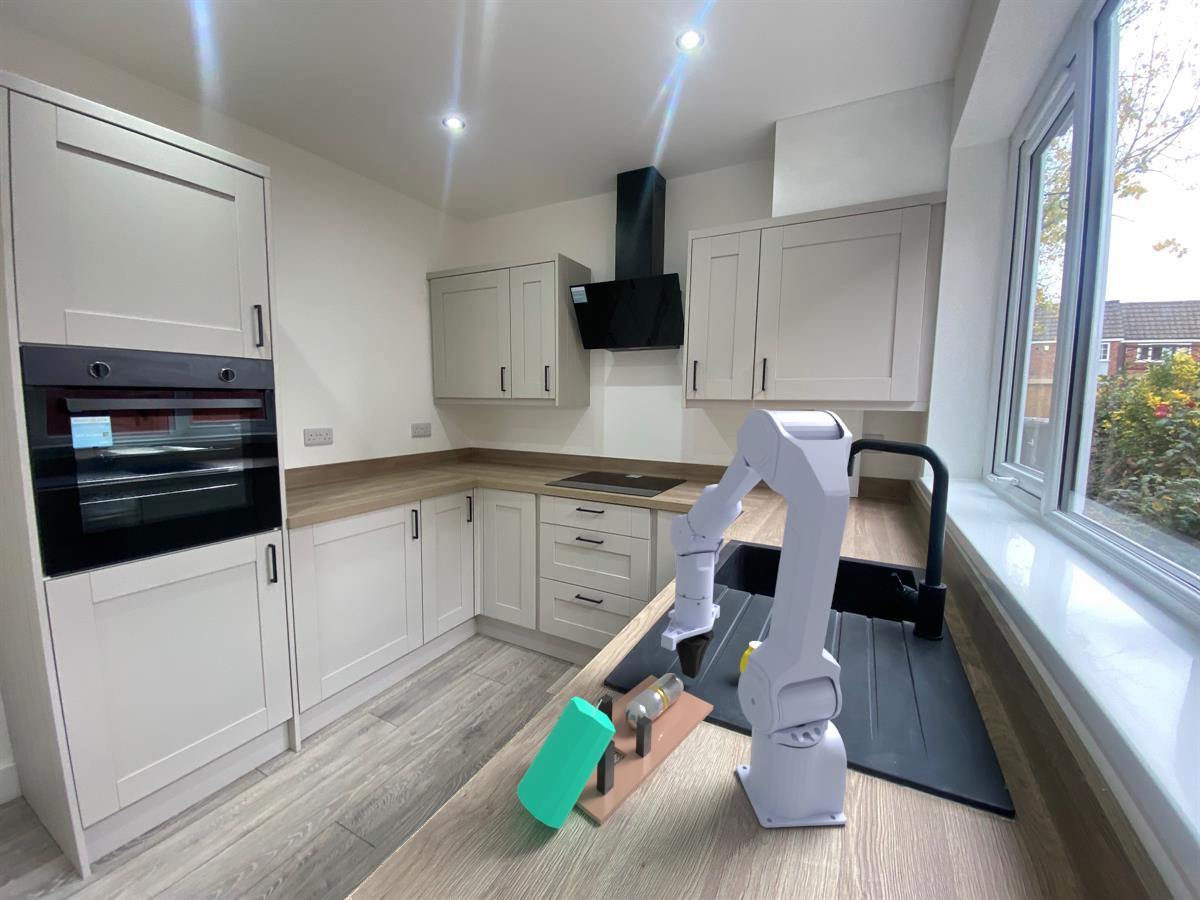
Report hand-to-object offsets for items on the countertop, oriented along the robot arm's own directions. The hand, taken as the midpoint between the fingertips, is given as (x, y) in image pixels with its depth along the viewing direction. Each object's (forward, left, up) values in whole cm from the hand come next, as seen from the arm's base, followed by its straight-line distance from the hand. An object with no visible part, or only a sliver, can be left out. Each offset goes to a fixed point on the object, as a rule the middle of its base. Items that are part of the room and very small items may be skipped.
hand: (690, 674), depth 73 cm
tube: (+7, +7, -1) cm, 10 cm away
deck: (+11, +11, -2) cm, 15 cm away
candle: (+22, +23, 0) cm, 32 cm away
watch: (-11, -1, -2) cm, 11 cm away
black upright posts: (+15, +15, -1) cm, 21 cm away
